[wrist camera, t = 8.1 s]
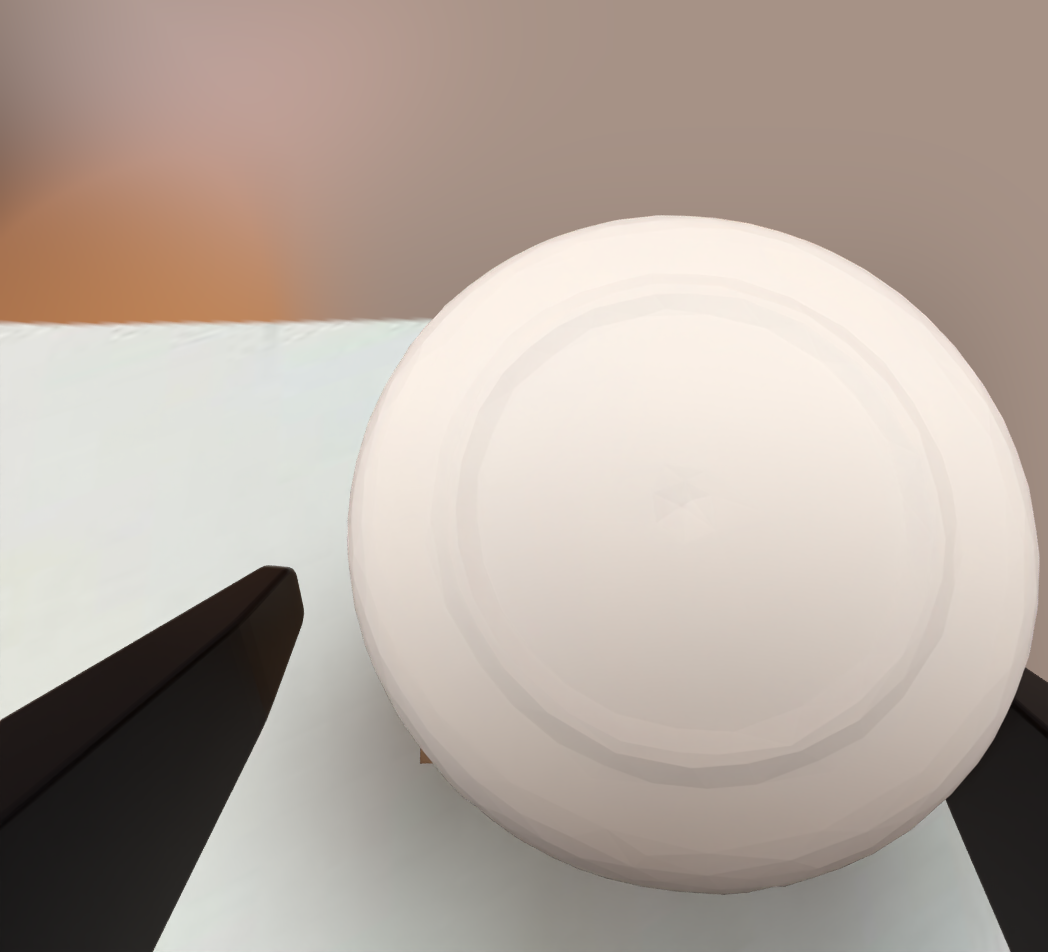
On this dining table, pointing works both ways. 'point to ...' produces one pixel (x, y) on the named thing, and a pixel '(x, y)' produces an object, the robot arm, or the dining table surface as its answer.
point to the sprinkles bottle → (693, 554)
